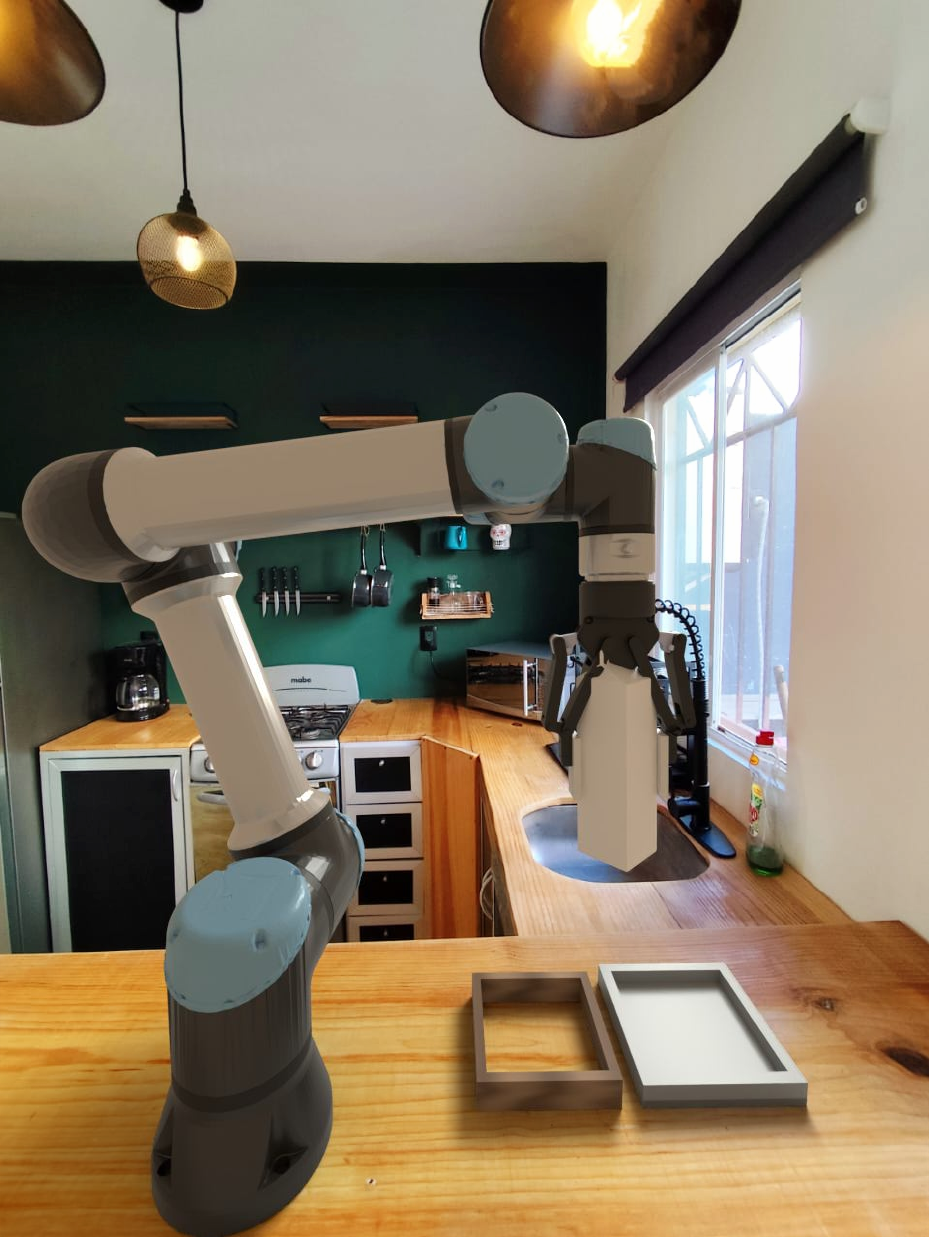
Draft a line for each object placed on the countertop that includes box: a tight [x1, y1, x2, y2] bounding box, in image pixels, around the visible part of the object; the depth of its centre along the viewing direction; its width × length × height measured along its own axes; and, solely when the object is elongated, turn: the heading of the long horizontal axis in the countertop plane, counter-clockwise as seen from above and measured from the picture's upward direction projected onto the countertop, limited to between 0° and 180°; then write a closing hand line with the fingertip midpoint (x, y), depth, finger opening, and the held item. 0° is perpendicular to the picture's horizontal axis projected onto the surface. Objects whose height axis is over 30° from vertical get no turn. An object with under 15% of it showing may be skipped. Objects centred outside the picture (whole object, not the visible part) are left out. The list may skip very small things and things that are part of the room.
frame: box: [471, 971, 624, 1112], centre depth 58 cm, size 14×14×3 cm
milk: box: [575, 650, 658, 873], centre depth 56 cm, size 6×6×22 cm
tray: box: [597, 962, 809, 1109], centre depth 59 cm, size 16×16×2 cm
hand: (617, 793), depth 56 cm, fingers closed on milk, 8 cm apart
